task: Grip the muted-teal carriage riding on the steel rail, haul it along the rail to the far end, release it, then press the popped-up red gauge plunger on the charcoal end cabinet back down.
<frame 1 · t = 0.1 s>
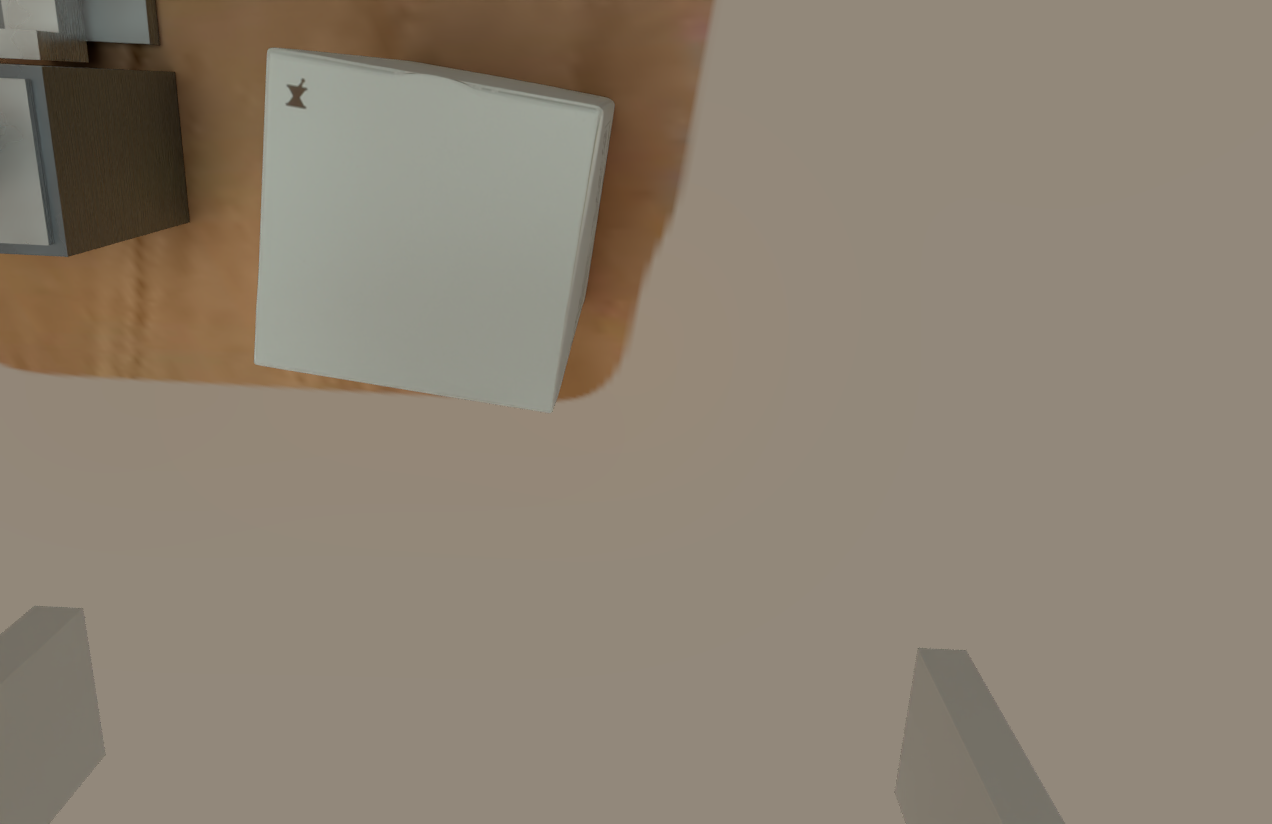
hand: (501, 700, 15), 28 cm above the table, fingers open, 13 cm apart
cabinet: (85, 144, 40), on the table
supplement box: (497, 188, 40), on the table
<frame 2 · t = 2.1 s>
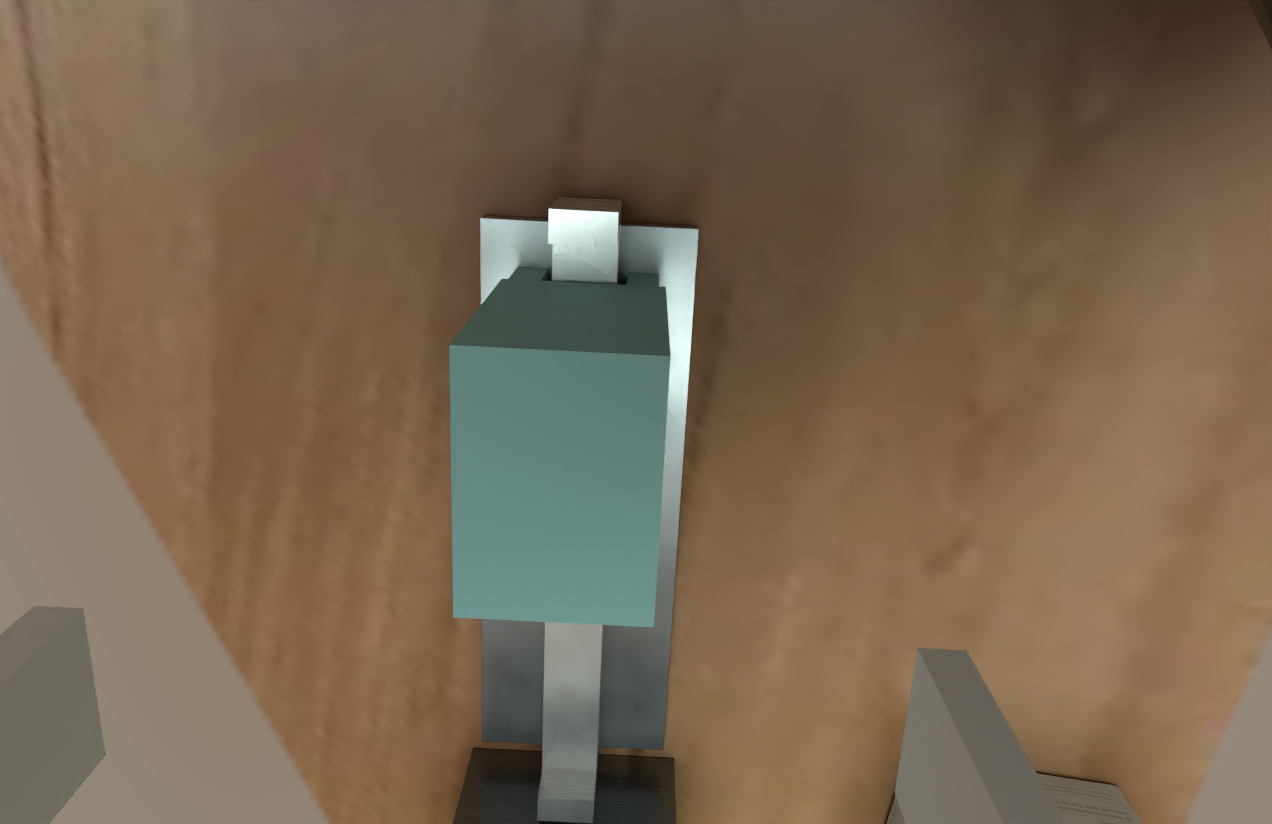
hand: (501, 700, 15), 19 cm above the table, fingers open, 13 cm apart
cabinet: (571, 814, 39), on the table
carriage: (573, 423, 28), point 6 cm above the table, slide at -5.0 cm
rail: (581, 499, 35), on the table
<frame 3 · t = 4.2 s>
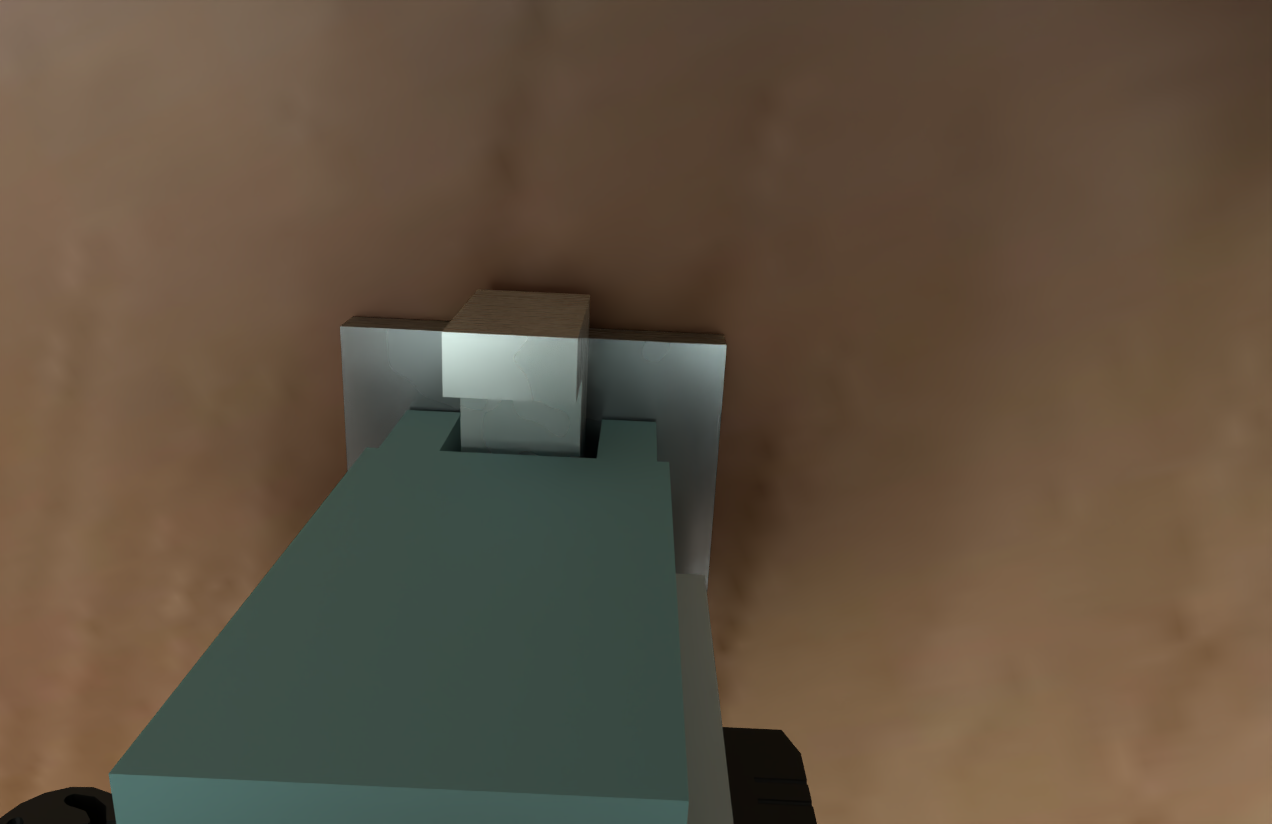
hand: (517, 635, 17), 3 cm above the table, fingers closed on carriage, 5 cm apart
carriage: (489, 749, 14), point 6 cm above the table, slide at -5.0 cm, touching gripper
rail: (531, 765, 21), on the table
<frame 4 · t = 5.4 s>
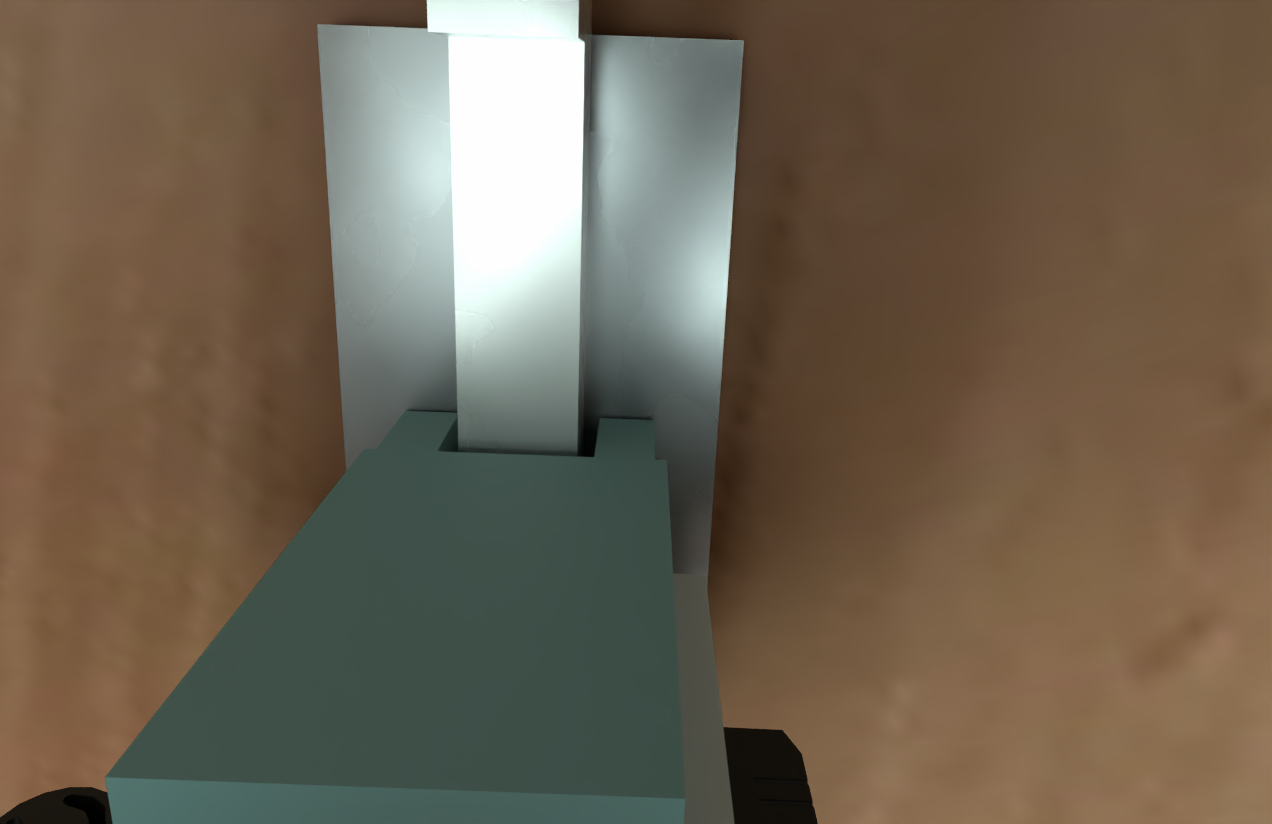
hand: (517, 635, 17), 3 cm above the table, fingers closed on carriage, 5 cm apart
carriage: (489, 749, 14), point 6 cm above the table, slide at 0.1 cm, touching gripper
rail: (534, 558, 20), on the table
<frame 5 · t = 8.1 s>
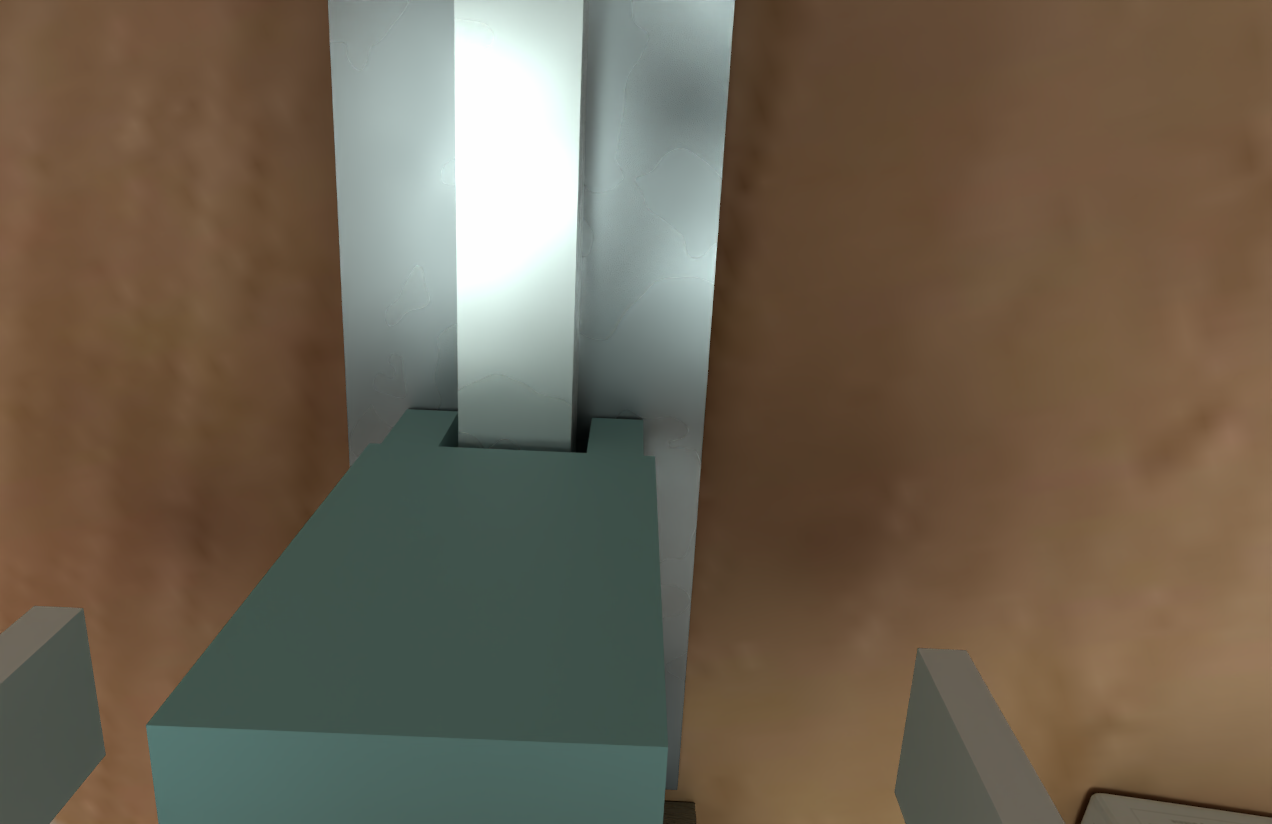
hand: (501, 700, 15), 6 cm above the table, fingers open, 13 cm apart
carriage: (486, 725, 15), point 6 cm above the table, slide at 4.8 cm
rail: (531, 339, 19), on the table
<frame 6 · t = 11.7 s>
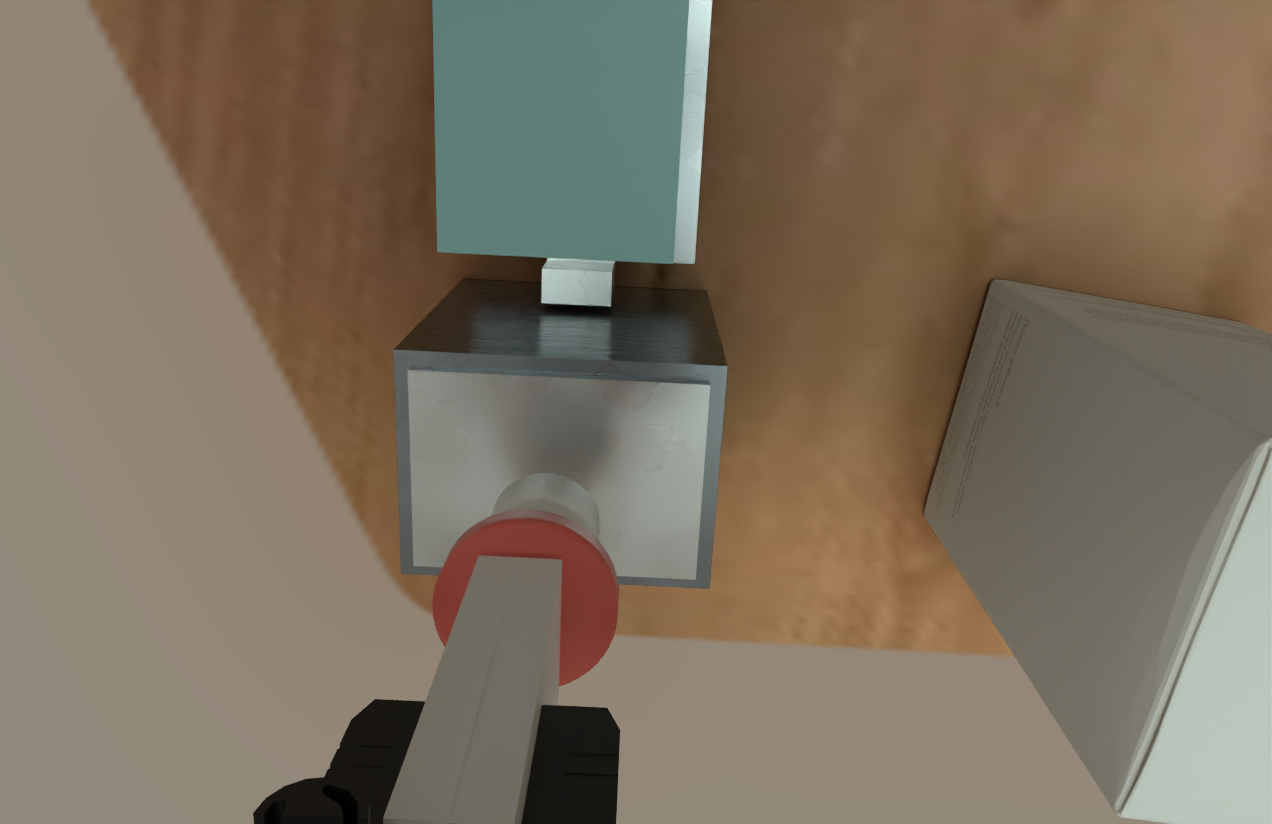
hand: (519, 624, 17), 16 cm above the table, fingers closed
plunger: (536, 563, 19), point 14 cm above the table, slide at 2.5 cm, touching gripper
cabinet: (582, 372, 32), on the table
supplement box: (1075, 422, 33), on the table
carriage: (577, 84, 24), point 6 cm above the table, slide at 4.8 cm
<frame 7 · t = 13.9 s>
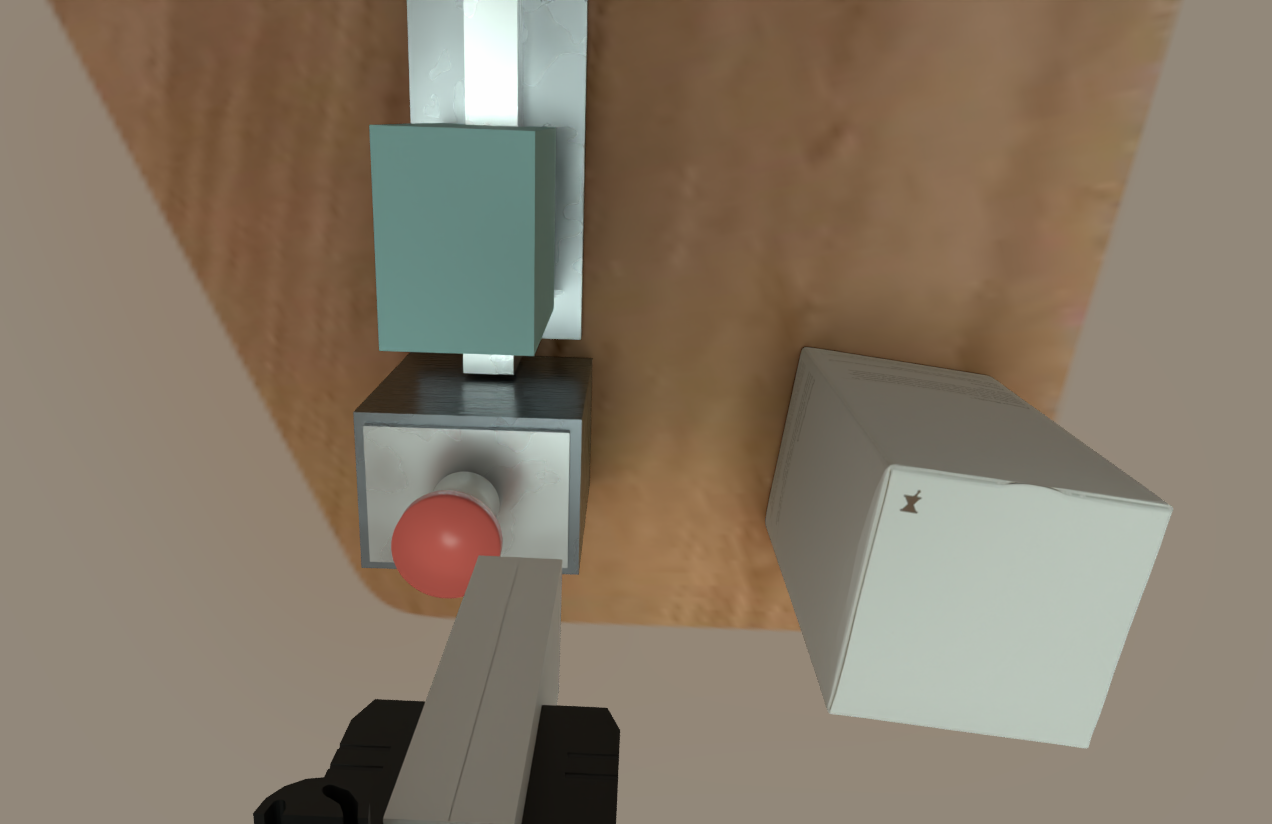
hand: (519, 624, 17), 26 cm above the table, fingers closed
plunger: (456, 525, 32), point 12 cm above the table, slide at 0.4 cm
cabinet: (502, 420, 43), on the table
supplement box: (875, 451, 44), on the table
carriage: (479, 226, 35), point 6 cm above the table, slide at 4.8 cm
rail: (500, 92, 39), on the table
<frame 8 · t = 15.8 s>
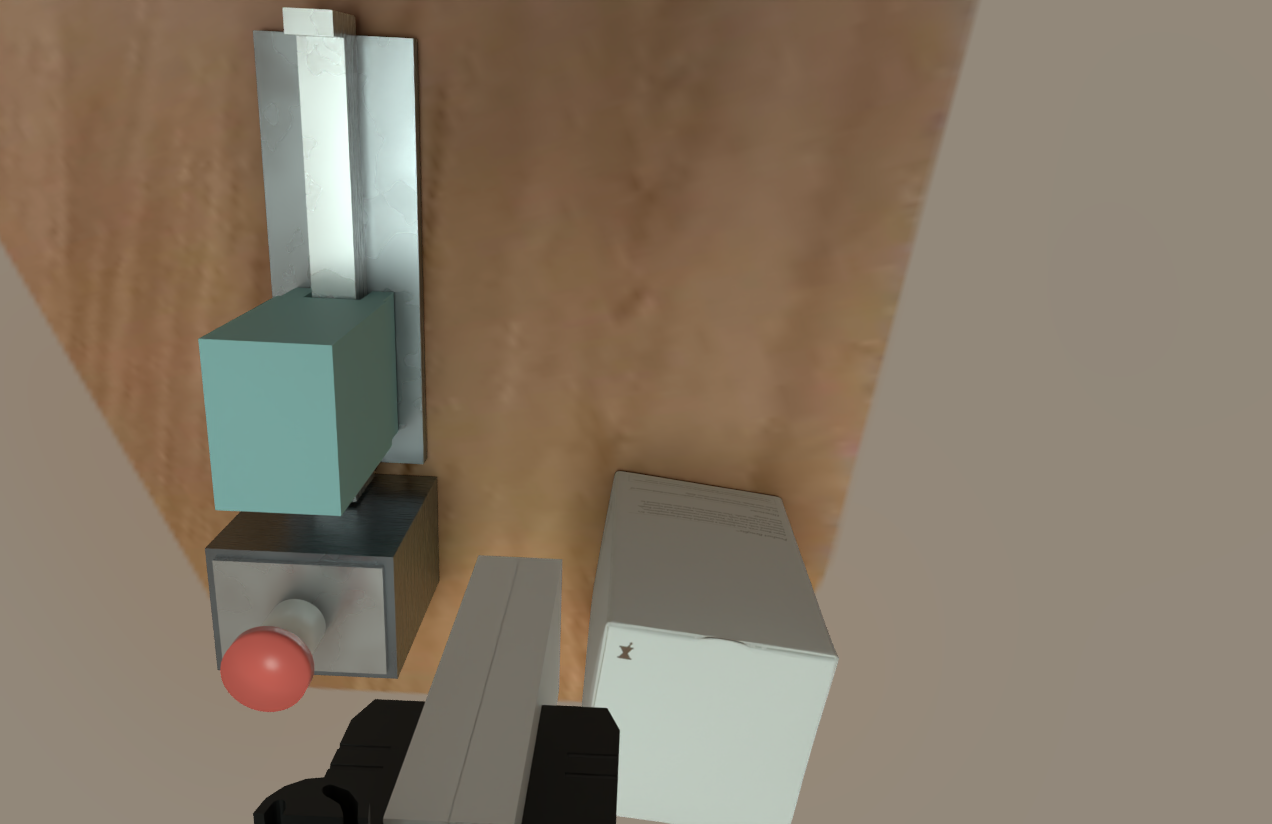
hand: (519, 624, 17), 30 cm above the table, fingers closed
plunger: (281, 648, 39), point 12 cm above the table, slide at 0.4 cm
cabinet: (361, 526, 50), on the table
supplement box: (684, 556, 51), on the table
carriage: (314, 391, 42), point 6 cm above the table, slide at 4.8 cm
rail: (349, 259, 46), on the table
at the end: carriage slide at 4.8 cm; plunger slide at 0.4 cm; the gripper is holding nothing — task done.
